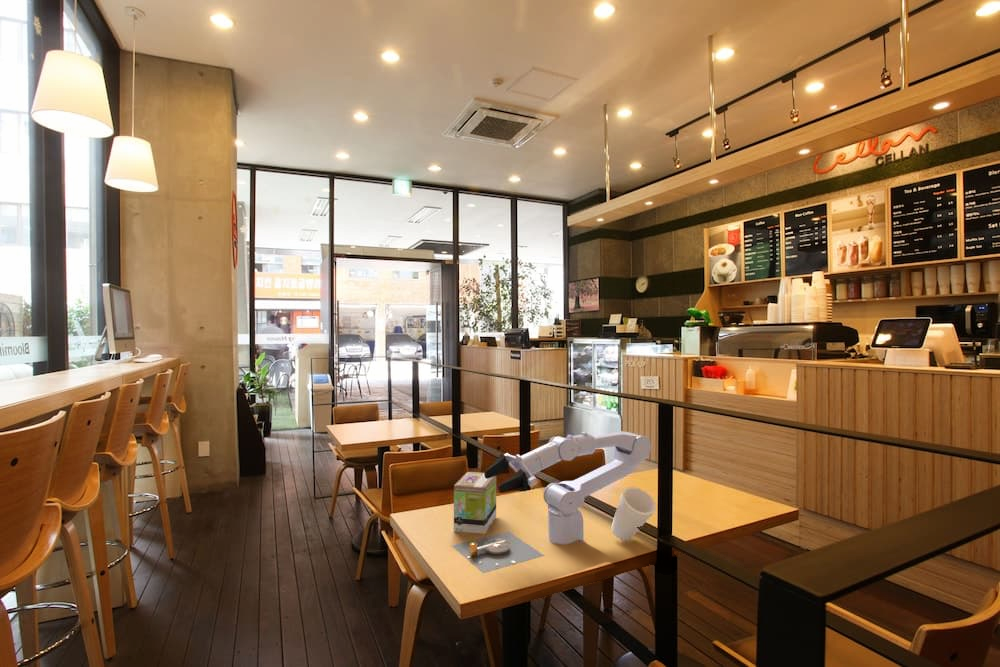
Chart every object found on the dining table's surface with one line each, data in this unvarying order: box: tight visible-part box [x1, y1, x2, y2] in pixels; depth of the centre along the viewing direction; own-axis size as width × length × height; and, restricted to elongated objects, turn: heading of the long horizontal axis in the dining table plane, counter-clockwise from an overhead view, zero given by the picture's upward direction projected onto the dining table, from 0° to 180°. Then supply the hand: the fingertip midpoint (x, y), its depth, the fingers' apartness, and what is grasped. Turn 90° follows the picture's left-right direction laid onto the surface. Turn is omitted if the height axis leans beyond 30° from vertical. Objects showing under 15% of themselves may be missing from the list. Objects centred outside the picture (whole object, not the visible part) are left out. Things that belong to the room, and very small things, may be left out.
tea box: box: [453, 471, 497, 535], centre depth 156 cm, size 15×10×15 cm, turn 168°
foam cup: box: [610, 486, 656, 542], centre depth 143 cm, size 10×9×13 cm
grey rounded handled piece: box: [470, 538, 510, 557], centre depth 135 cm, size 12×7×3 cm, turn 120°
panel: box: [451, 531, 545, 574], centre depth 137 cm, size 18×18×1 cm
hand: (491, 482), depth 134 cm, fingers open, 7 cm apart
